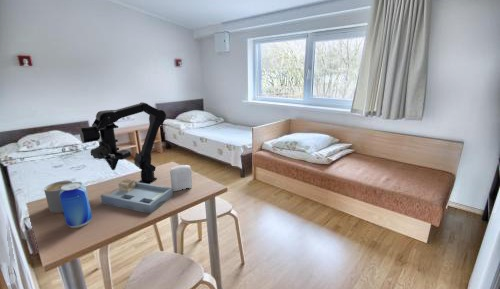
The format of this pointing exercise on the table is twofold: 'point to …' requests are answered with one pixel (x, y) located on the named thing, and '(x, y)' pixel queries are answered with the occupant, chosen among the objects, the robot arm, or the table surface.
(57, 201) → the coffee mug
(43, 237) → the table surface
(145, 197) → the box
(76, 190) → the beer can
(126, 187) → the beech block
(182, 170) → the photo printer
